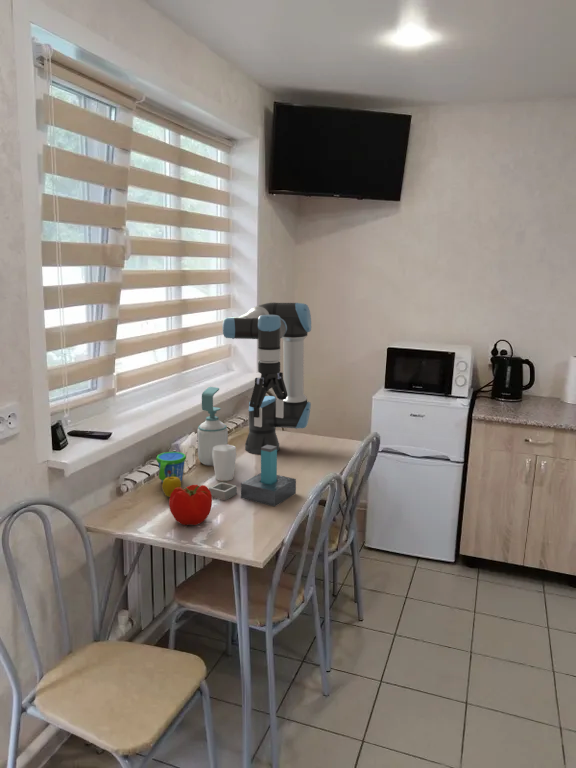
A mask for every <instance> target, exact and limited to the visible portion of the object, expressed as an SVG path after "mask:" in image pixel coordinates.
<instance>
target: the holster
mask: <svg viewBox="0 0 576 768" xmlns="http://www.w3.org/2000/svg"><path fill="white" fill-rule="evenodd" d="M208 489H209V490H210V492H211V495H212V498H215V499H219V500H223V501H227V500H228V499H230V498H232V497H233V496H235V495H238V485H235V484H231V483H226V482H224V481H220V482H218V483H216V484H214V485H213V486H210V487H209V488H208Z"/></svg>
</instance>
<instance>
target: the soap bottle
mask: <svg viewBox="0 0 576 768" xmlns="http://www.w3.org/2000/svg"><path fill="white" fill-rule="evenodd" d="M219 391H220V388H219V387H216V386H210V387H207V389H205V390H204V391H202V393H201V410H202V411H205V412H207V413H208V414H209V416H206V417H205V421H204V422H202V423H200V425H198V427H197V432H196V434H197V458H198V460H199V462H200V463H201V464H203V465H205V466H208V467H214V464H213V457H212V453H213V447H214V446H217V445H224V444H226V445H229V440H228V439H229V437H228V432H229V431H228V428H227V425H226V424H225V423H223V422H222V421H221V420H219V416H216V414H217V411H220V410H221V407H215V406H214V396H215V394H216V393H218V392H219Z"/></svg>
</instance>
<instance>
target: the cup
mask: <svg viewBox="0 0 576 768" xmlns="http://www.w3.org/2000/svg"><path fill="white" fill-rule="evenodd" d="M212 457H213V464H214V466H213V468H214V476H215V479H216V480H218V481H220V482H226V481H227V482H228V481H231V480H233V478H234V475H235V468H236V459H237V447H236V446H235V445H233V444H228V445H226V444H224V445H217V446H214V447H213V453H212Z"/></svg>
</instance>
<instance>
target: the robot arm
mask: <svg viewBox="0 0 576 768" xmlns="http://www.w3.org/2000/svg"><path fill="white" fill-rule="evenodd" d="M311 315H312V314H311V311H310V307H309V305H308V304H307V303H301V302H266V303H262V304H259V305H256V306H254V307H252V308H250V309H249V310H248V312H246V313H245V314H242V315H239V316H238V317H237V316H235V317H234V316H229V317H225V318H224V319H223V320H222V321H223V322H222V335H223V337H224V338H226V339H232V340H234V339H235V340H236V339H237V340H238V339H239V340H240V339H243V340H257V343H258V344H257V349H258V351H257V353H258V357H257V359H258V360H259V361H258V362H257V369H258V370H257V371H258V373H259V374H260V377H255V378H254V386H253V388H252V389H253V390H252V393H251V397H250V401H249V405H248V434H247V437H246V440H245V444H244V450H245V451H246V453H250V454H255V455H256V454H257V455H261V447H263V446H265V445H272V446H277V452H279V451H280V442H279V439H278V435H277V432H276V428H284V429H285V428H287V429H296V430H297V429H305V428H307V426H308V423H309V419H310V414H311V404H312V403H311V402H310V401H308V397H307V396H306V395H305V394H304V391H305V390H304V381H305V379H304V378H305V376H304V374H305V373H304V372H305V366H304V364H305V362H304V361H305V360H304V357H305V356H304V354H305V342H304V341H305V339H306V337H307V338H308V333H310V332H311V331H312V316H311ZM281 339H282V341H283V342H282V343H283V348H282V350H283V351H282V353H283V354H282V355H283V372H282V371H281V360H282V359H281V357H282V356H281ZM270 389H272V391H273V393H274V394H275V396H273V395H266V394H267V392H269V390H270Z"/></svg>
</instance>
